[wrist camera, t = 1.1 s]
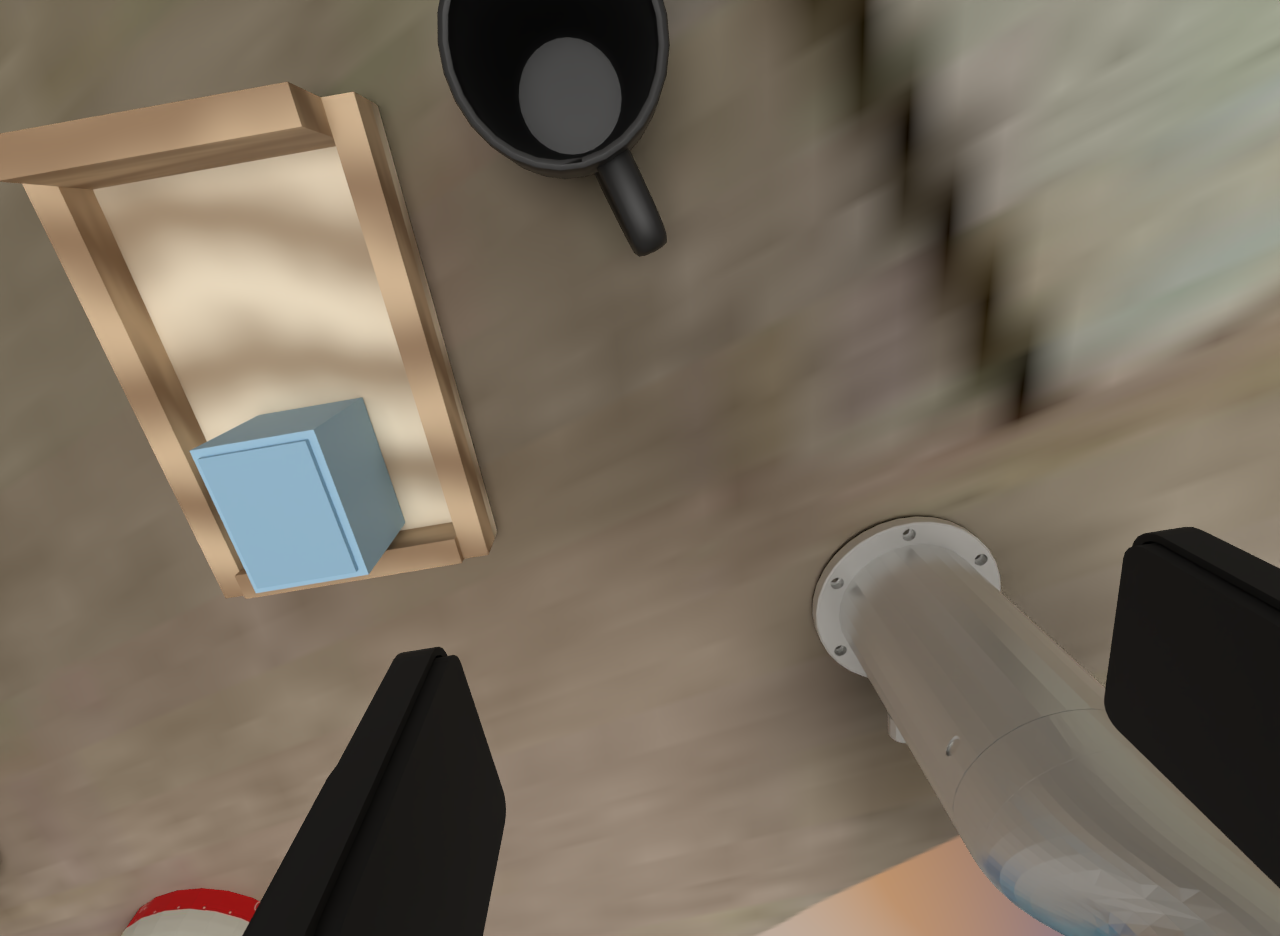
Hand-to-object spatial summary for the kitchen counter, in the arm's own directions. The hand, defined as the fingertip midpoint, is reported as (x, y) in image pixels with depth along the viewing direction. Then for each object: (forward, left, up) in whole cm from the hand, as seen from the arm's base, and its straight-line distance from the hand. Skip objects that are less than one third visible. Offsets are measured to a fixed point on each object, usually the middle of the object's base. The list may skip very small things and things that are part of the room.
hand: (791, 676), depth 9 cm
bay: (+2, +20, -28) cm, 34 cm away
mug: (+11, +2, -28) cm, 30 cm away
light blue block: (-4, +20, -27) cm, 34 cm away
